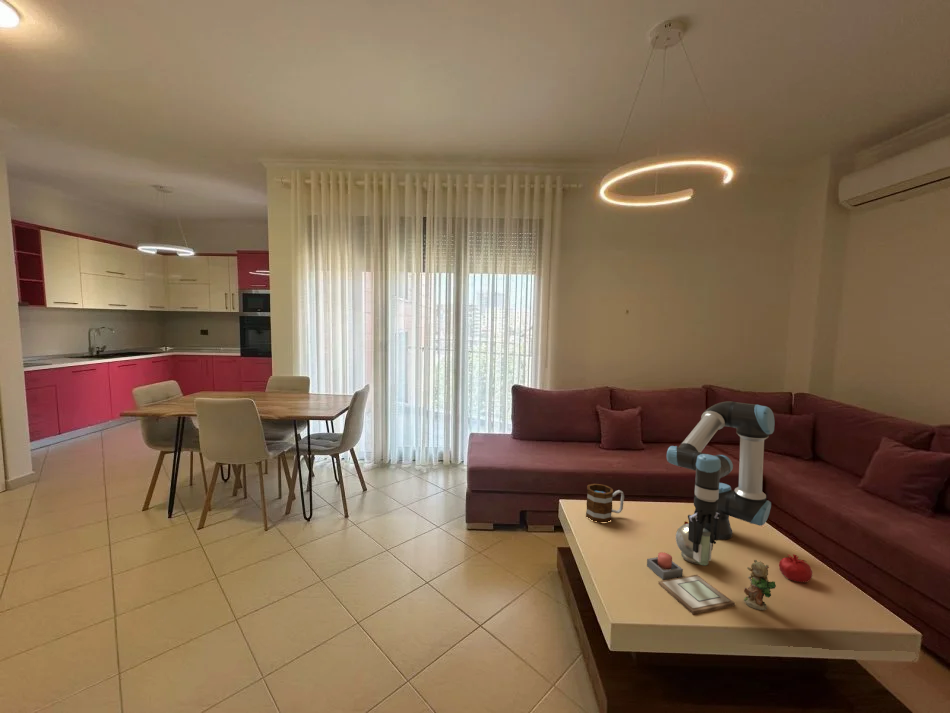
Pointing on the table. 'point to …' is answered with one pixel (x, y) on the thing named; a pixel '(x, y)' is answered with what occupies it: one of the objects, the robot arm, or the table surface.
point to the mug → (601, 502)
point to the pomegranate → (795, 569)
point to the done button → (664, 560)
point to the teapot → (685, 543)
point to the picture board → (696, 594)
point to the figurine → (758, 586)
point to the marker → (705, 547)
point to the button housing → (664, 574)
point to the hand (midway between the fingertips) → (702, 559)
